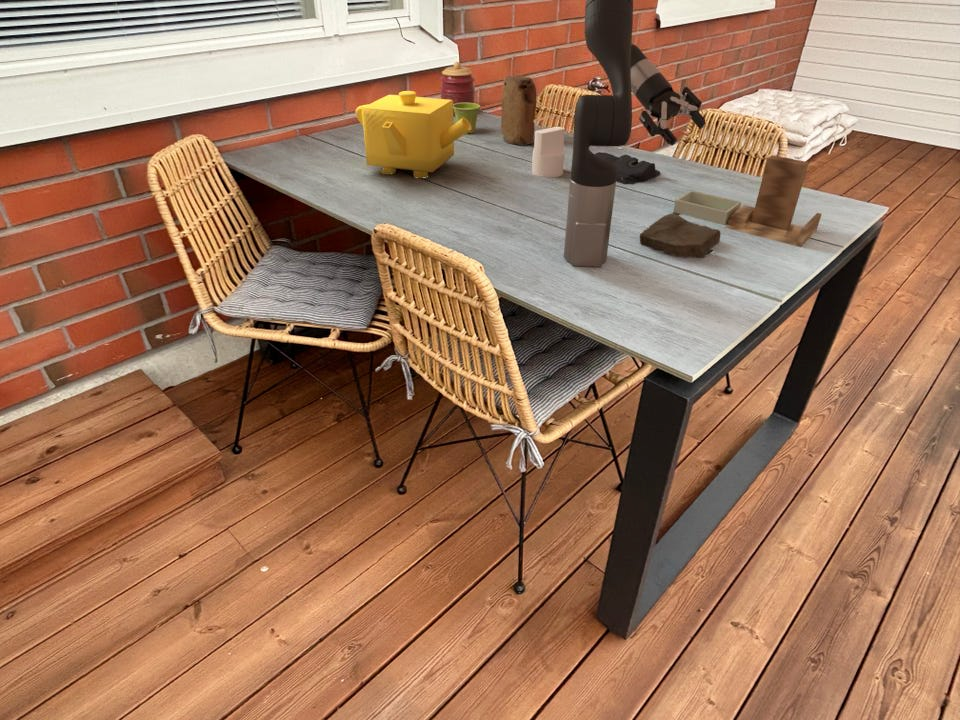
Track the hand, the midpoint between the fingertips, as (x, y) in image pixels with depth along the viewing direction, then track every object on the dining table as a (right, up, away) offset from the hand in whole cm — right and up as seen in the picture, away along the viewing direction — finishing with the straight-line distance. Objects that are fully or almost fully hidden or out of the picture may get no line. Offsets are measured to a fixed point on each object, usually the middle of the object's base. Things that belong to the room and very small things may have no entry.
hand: (689, 134), depth 152 cm
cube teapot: (-69, +2, +37) cm, 78 cm away
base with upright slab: (-30, +1, +36) cm, 47 cm away
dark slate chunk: (-9, +2, +38) cm, 39 cm away
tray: (+7, -17, +8) cm, 20 cm away
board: (+19, -22, 0) cm, 29 cm away
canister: (-58, +41, +94) cm, 118 cm away
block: (-37, +19, +61) cm, 74 cm away
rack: (+19, -23, 0) cm, 30 cm away
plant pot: (-54, +26, +71) cm, 93 cm away
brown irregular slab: (-4, -27, -5) cm, 28 cm away
